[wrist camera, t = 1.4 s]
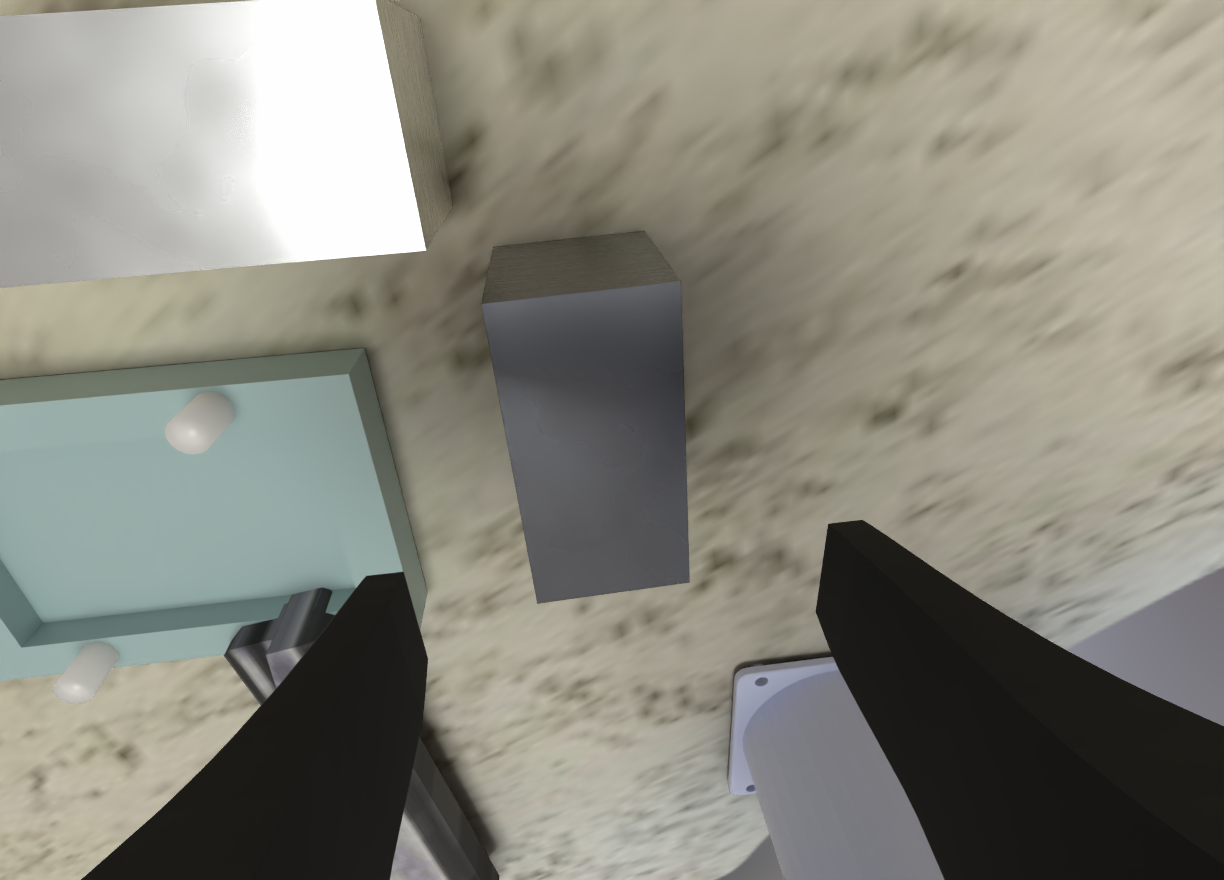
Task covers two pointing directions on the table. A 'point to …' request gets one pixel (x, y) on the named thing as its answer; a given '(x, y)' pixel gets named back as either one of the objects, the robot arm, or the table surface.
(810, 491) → the table surface
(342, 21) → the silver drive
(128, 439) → the tray
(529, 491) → the dark grey rectangular block
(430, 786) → the handgun
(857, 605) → the robot arm
